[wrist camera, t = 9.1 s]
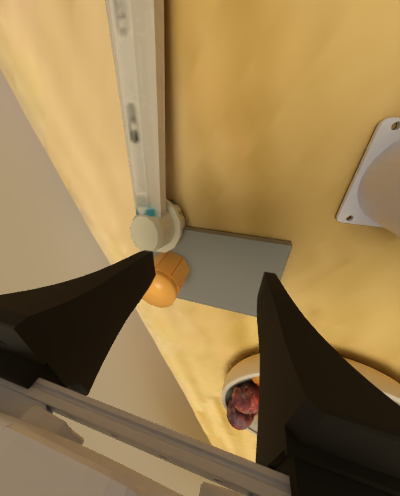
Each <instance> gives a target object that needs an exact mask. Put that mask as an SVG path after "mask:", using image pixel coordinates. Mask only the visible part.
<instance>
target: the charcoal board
mask: <svg viewBox="0 0 400 496" xmlns="http://www.w3.org/2000/svg"><path fill="white" fill-rule="evenodd" d="M291 248H292V244H291V242H290V241H283V240H276V239H269V238H262V237H256V236H249V235H242V234H235V233H228V232H222V231H215V230H208V229H201V228H194V227H187V226H185V227H184V228H183V229H182V236H181V238H180V240H179V242H178V244H177V246H176V247H175V248H173V249H171V250H169V251H172V252H174V253H176V254H178V255H180V256H182V258H184V259H185V261H186V263H187V265H188V266H189V268H190V271H189V273H188V276H187V278H186V280H185V282H184V284H183V286H182V288H181V290H180V292H179V294H178V296H177V297H176V298H179V299H184V300H188V301H192V302H196V303H200V304H204V305H209V306H213V307H217V308H221V309H225V310H229V311H234V312H238V313H242V314H246V315H250V316H254V317H257V296H258V292H259V289H260V285H261V281H262V278H263V274H264V272H270V273H275V274H276V275H277V277H278V279H279V280H280V279H281V277H282V274H283V271H284V268H285V265H286V262H287V260H288V257H289V254H290V251H291ZM159 253H162V252H157V251H154V252H153V257H155V256H156V255H157V254H159Z"/></svg>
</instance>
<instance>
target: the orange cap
mask: <svg viewBox="0 0 400 496" xmlns="http://www.w3.org/2000/svg"><path fill="white" fill-rule="evenodd" d="M154 265H155V273H156V276H155V278H154V280H153V282H152V284H151V285H150V287H149V289H148V290H147V292H146V293H145V294H144V296H143V297H142V299H143V300H145V301H146V302H147V303H149V304H151V305H153V306H156V307H168V306H170V305H172V304H173V302H174V300H175V299H176V297H177V296H178V294H179V292H180V290H181V288H182V286H183V284H184V282H185V280H186V278H187V276H188V273H189V271H190V268H189V266H188V265H187V263H186V261H185V259H184V258H182V256H180V255H178V254H176V253H174V252H172V251H167V252H165V253H163V252H162V253H159V254H157V255H156V256H155V257H154Z"/></svg>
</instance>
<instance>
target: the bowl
mask: <svg viewBox="0 0 400 496" xmlns="http://www.w3.org/2000/svg"><path fill="white" fill-rule="evenodd" d="M343 358H344V357H343ZM344 359H345V360H346V361H347V362H348V363H349V364H351V365H352V366H353V367H354V368H355V369H356V370H357V371H358V372H360V373H361V374H362V375H363V376H364V377H365V378H366V379H368V380H369V381H370V382H371V383H372V384H373V385H375V386H376V387H377V388H378V389H380V390H381V391H382V392H383V393H385V394H386V395H387V396H388V397H389V398H391V399H392V400H393V401H394V402H396V403H397V404H398V405H399V406H400V384H399V383H398V382H396V381H395V380H393V379H392V378H390V377H388V376H387V375H385V374H383V373H381V372H379V371H377V370H375V369H373V368H371V367H369V366H366V365H364V364H361V363H359V362H356V361H353V360H350V359H347V358H344ZM259 375H260V353H258V354H255V355H252V356H250V357H247V358H245V359H243V360H242V361H240V362H239V363H237V364H236V365H235V366H234V367H233V368H232V369H231V370H230V372H229V373H228V375H227V377H226V379H225V381H224V384H223V389H222V402H223V405H224V407H225V409H226V410H227V418H228V421H229V422H230V424H231V425H232V427H234V428H235V429H238V430H244V429H247V430H249V431H250V432H252V433H254V434H255V435H257V429H258V406H259Z"/></svg>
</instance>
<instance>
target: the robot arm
mask: <svg viewBox="0 0 400 496" xmlns="http://www.w3.org/2000/svg"><path fill="white" fill-rule="evenodd" d="M395 122H397V124H398V125H397V127H396V128H395V129H394V130H392V129H391V127H392V125H393V124H394V123H395ZM348 216H351V218H350V219H346V218H347V217H348ZM336 220H337V221H339V222H341V223H350V224H358V225H367V226H375V227H384V228H386V229H387V230H389V231H390V232H392V233H393V234H395V235H396V236H398V237H399V238H400V117H391V118H385V119H383V120H382V121H381V122H380V123H379V124H378V125H377V127H376V129H375V131H374V134H373V136H372V138H371V140H370V142H369V145H368V147H367V149H366V151H365V153H364V156H363V158H362V160H361V162H360V164H359V167H358V169H357V171H356V173H355V175H354V178H353V180H352V182H351V184H350V186H349V189H348V191H347V193H346V195H345V197H344V199H343V202H342V204H341V206H340V208H339V210H338V213H337V215H336ZM155 276H156V273H155V265H154V257H153V251H147V250H144V251H141V252H139V253H136V254H134V255H132V256H130V257H128V258H126V259H124V260H121V261H119V262H117V263H115V264H113V265H110V266H108V267H106V268H104V269H101V270H99V271H96V272H94V273H91V274H88V275H85V276H83V277H79V278H76V279H73V280H69V281H66V282H62V283H59V284H55V285H50V286H46V287H42V288H37V289H32V290H28V291H21V292H15V293H10V294H3V295H0V496H183V495H181V494H179V493H177V492H175V491H173V490H171V489H169V488H167V487H165V486H163V485H161V484H160V483H158V482H156V481H154V480H152V479H150V478H148V477H146V476H144V475H142V474H140V473H138V472H136V471H134V470H132V469H130V468H128V467H126V466H124V465H122V464H120V463H118V462H116V461H114V460H112V459H110V458H108V457H106V456H104V455H102V454H99V453H97V452H95V451H93V450H91V449H89V448H86V447H84V446H82V444H83V442H84V439H83V438H82V437H81V436H80V435H78V434H77V433H75V432H74V431H73V430H72V429H71V428H70V427H69V426H68V425H67V423H66V422H65V421H63V420H62V419H60V418H58V417H56V416H55V415H53V412H55V413H58V414H60V415H62V416H64V417H67V418H69V419H71V420H74V421H76V422H78V423H80V424H83V425H85V426H87V427H90V428H92V429H94V430H96V431H99V432H101V433H103V434H106V435H108V436H110V437H113V438H115V439H117V440H119V441H122V442H124V443H126V444H129V445H131V446H133V447H136V448H138V449H140V450H142V451H145V452H147V453H149V454H152V455H154V456H156V457H158V458H161V459H163V460H165V461H168V462H170V463H172V464H174V465H177V466H179V467H181V468H184V469H186V470H188V471H191V472H193V473H195V474H197V475H200V476H202V477H204V478H207V479H209V480H211V481H214V482H216V483H218V484H220V485H223V486H225V487H227V488H230V489H232V490H230V489H226V488H223V487H219V486H216V485H212V484H209V483H206V482H203V483H202V484H201V488H200V494H199V496H244V495H246V496H400V406H399V405H398V404H397V403H396V402H394V401H393V400H392V399H391V398H389V397H388V396H387V395H386V394H385V393H383V392H382V391H381V390H380V389H378V388H377V387H376V386H375V385H373V384H372V383H371V382H370V381H369V380H368V379H366V378H365V377H364V376H363V375H362V374H361V373H360V372H358V371H357V370H356V369H355V368H354V367H353V366H352V365H351V364H349V363H348V362H347V361H346V360H345V359H344V358H343V357H342V356H341V355H340V354H339V353H338V352H337V351H336V350H335V349H334V348H333V347H332V346H331V345H330V344H329V343H328V342H327V341H326V340H325V339H324V338H323V337H322V336H321V335H320V334H319V333H318V332H317V331H316V329H315V328H314V327H313V326H312V325H311V324H310V323H309V322H308V320H307V319H306V318H305V317H304V315H303V314H302V313H301V311H300V310H299V309H298V307H297V306H296V305H295V303H294V302H293V300H292V299H291V297H290V296H289V295H288V293H287V291H286V290H285V288H284V287H283V285H282V284H281V282H280V280H279V279H278V277H277V275H276V274H275V273H270V272H264V274H263V278H262V281H261V285H260V289H259V292H258V296H257V324H258V337H259V350H260V375H259V406H258V429H257V448H256V463H254V462H252V461H249V460H247V459H244V458H242V457H239V456H237V455H234V454H232V453H229V452H227V451H224V450H222V449H219V448H216V447H214V446H211V445H209V444H206V443H204V442H201V441H199V440H196V439H193V438H191V437H188V436H186V435H183V434H181V433H178V432H176V431H173V430H171V429H168V428H166V427H163V426H161V425H158V424H156V423H153V422H151V421H148V420H146V419H143V418H140V417H138V416H135V415H133V414H130V413H128V412H125V411H123V410H120V409H118V408H115V407H113V406H110V405H107V404H105V403H102V402H100V401H97V400H95V399H92V398H90V397H87V395H88V394H89V391H90V389H91V387H92V385H93V383H94V380H95V378H96V376H97V374H98V372H99V370H100V368H101V365H102V363H103V362H104V360H105V358H106V356H107V354H108V352H109V350H110V348H111V346H112V344H113V342H114V340H115V339H116V337H117V335H118V333H119V332H120V330H121V328H122V327H123V325H124V323H125V321H126V320H127V318H128V317H129V315H130V314H131V312H132V311H133V310H134V308H135V307H136V306H137V304H138V303H139V301H140V300H141V299H142V297H143V296H144V294H145V293H146V292H147V290H148V289H149V287H150V285H151V284H152V282H153V280H154V278H155ZM52 411H53V412H52ZM233 490H234V491H233ZM235 491H236V492H235ZM238 492H239V493H238ZM240 493H241V494H240ZM242 494H243V495H242Z"/></svg>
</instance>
